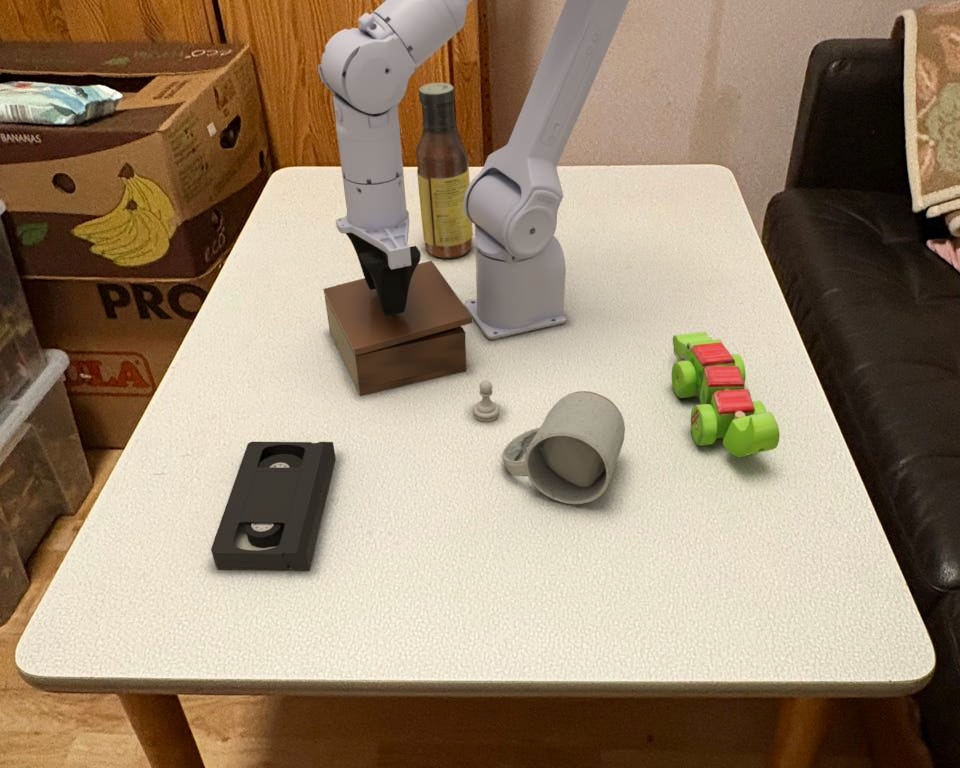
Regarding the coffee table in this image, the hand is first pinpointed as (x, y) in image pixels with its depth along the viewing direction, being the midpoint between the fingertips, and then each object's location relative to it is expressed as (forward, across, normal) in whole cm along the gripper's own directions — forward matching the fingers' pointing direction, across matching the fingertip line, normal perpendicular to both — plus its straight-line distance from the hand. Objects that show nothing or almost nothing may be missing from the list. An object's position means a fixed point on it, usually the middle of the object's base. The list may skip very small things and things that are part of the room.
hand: (386, 299), depth 94 cm
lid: (+1, 0, +1) cm, 2 cm away
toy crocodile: (+7, +22, +26) cm, 35 cm away
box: (+7, 0, 0) cm, 7 cm away
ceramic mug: (+7, +25, +8) cm, 27 cm away
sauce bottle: (+7, -20, +14) cm, 25 cm away
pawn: (+7, +14, +6) cm, 17 cm away
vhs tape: (+7, +20, -16) cm, 27 cm away
